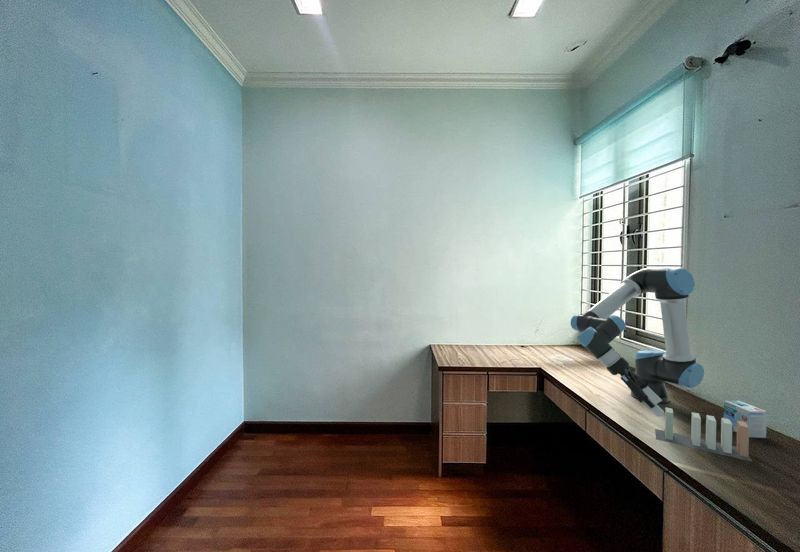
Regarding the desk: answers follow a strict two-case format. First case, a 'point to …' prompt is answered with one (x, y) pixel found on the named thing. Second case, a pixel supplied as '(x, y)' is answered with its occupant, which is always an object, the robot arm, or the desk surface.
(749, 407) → the light bulb box
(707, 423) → the domino
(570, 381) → the desk surface
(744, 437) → the end domino
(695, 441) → the domino
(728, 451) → the domino
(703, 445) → the domino mat
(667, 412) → the domino
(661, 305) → the robot arm
